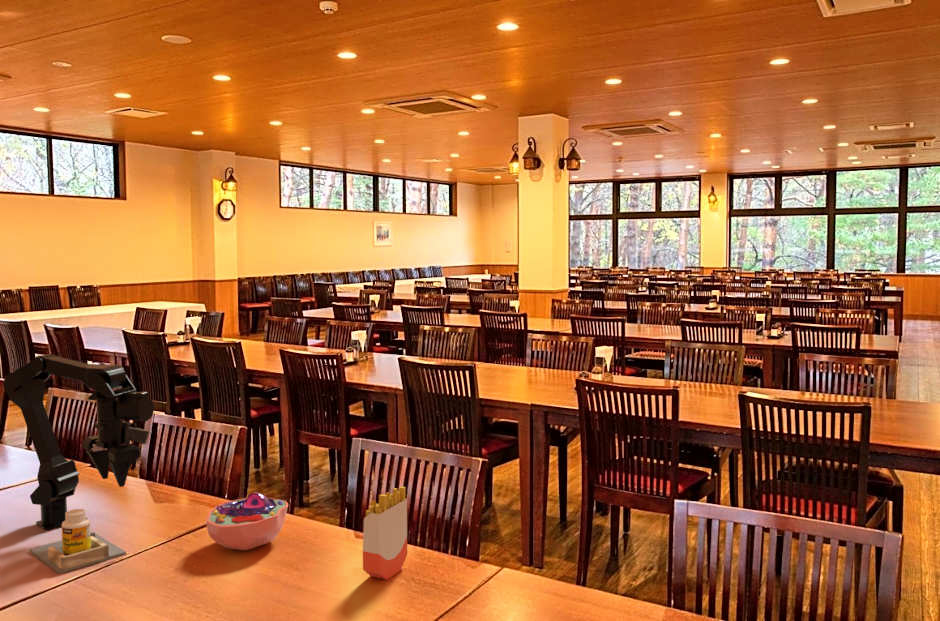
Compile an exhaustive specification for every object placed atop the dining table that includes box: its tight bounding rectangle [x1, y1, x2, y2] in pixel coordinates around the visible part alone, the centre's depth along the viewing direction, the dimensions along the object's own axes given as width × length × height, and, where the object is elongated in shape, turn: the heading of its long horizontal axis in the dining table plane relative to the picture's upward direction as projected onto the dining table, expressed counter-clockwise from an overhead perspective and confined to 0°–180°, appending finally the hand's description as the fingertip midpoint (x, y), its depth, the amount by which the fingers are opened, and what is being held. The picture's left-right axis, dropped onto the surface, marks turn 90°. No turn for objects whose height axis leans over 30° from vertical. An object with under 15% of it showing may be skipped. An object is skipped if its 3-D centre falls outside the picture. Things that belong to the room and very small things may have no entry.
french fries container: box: [362, 486, 408, 581], centre depth 164 cm, size 5×11×18 cm, turn 154°
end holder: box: [48, 536, 109, 570], centre depth 171 cm, size 8×10×2 cm
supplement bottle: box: [61, 508, 91, 556], centre depth 171 cm, size 6×6×10 cm
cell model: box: [206, 491, 289, 551], centre depth 179 cm, size 17×20×11 cm
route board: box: [28, 531, 127, 575], centre depth 175 cm, size 18×14×2 cm
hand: (113, 482), depth 187 cm, fingers open, 9 cm apart
